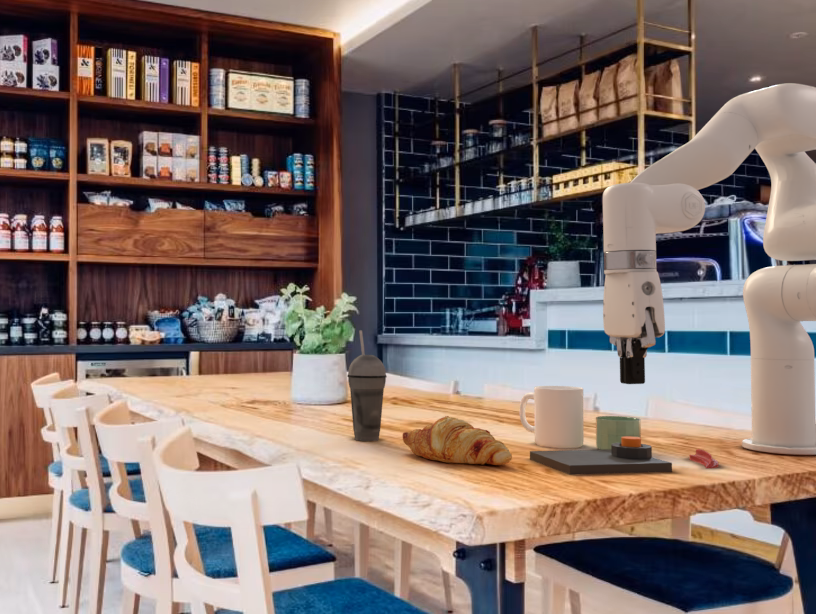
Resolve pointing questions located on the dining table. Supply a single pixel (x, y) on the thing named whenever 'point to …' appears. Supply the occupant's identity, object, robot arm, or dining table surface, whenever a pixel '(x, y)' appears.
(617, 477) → the dining table surface
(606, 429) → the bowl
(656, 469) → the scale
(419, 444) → the croissant
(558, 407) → the cup
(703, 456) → the cayenne pepper
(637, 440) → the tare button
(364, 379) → the beverage cup
